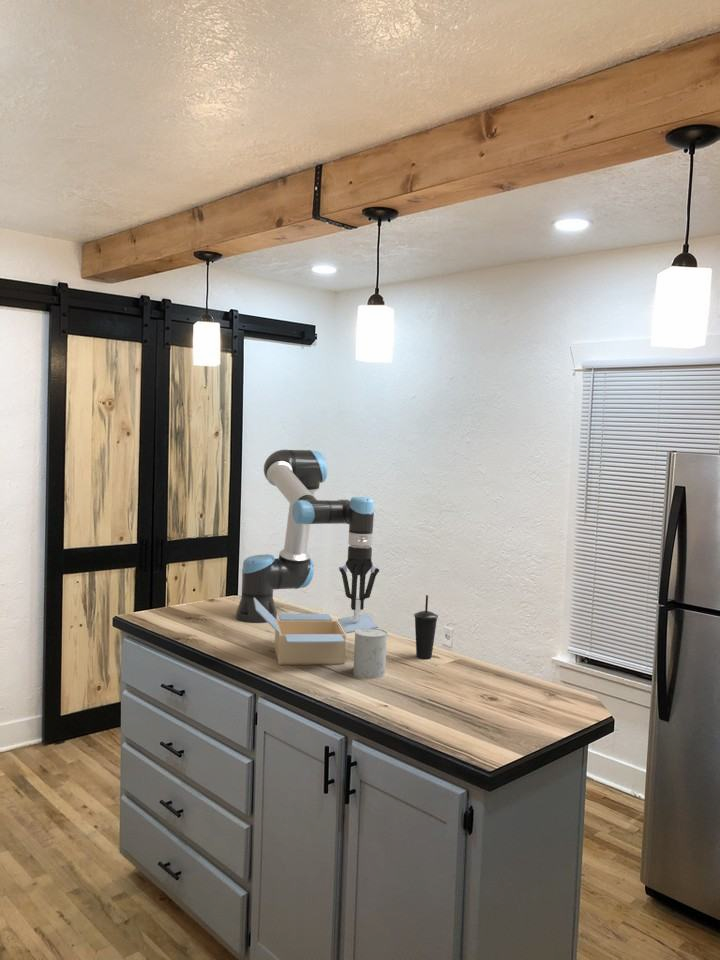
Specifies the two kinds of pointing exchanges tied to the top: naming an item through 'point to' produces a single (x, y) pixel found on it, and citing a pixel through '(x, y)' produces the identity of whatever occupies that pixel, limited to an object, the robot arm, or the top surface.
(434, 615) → the drinking cup
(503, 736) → the top surface
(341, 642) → the carton
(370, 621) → the flap
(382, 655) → the speckled concrete cylinder
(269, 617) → the flap
